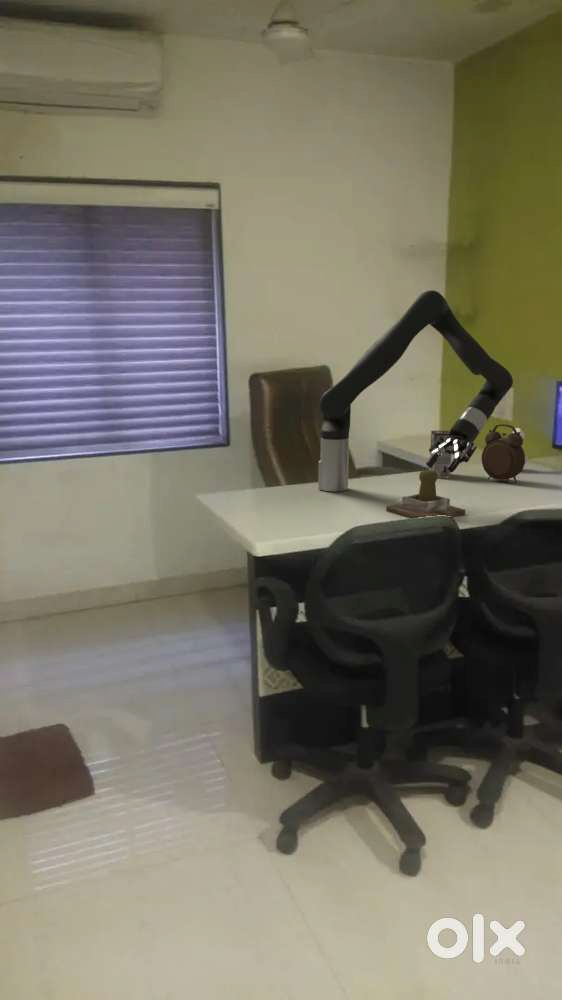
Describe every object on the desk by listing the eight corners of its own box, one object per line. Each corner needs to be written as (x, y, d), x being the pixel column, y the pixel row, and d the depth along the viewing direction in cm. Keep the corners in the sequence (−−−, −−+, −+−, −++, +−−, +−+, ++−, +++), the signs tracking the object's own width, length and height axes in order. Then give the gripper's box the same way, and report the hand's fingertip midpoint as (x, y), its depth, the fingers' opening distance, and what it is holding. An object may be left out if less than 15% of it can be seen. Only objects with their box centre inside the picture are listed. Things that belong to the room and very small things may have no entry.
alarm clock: (526, 483, 264) (530, 425, 259) (514, 486, 259) (518, 427, 255) (490, 477, 275) (494, 421, 270) (478, 479, 270) (481, 423, 266)
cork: (439, 506, 223) (441, 469, 221) (434, 511, 218) (436, 473, 216) (419, 504, 226) (421, 468, 223) (414, 508, 220) (415, 471, 218)
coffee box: (428, 473, 281) (430, 430, 278) (446, 473, 281) (448, 430, 278) (433, 478, 272) (435, 433, 269) (451, 478, 272) (453, 433, 269)
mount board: (424, 522, 211) (425, 506, 210) (386, 511, 224) (386, 496, 223) (465, 514, 220) (465, 499, 219) (425, 504, 233) (426, 489, 232)
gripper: (445, 415, 229) (415, 456, 225) (481, 420, 217) (450, 463, 214) (456, 431, 233) (427, 472, 229) (492, 437, 221) (462, 480, 218)
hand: (438, 468), depth 222 cm, fingers open, 8 cm apart
